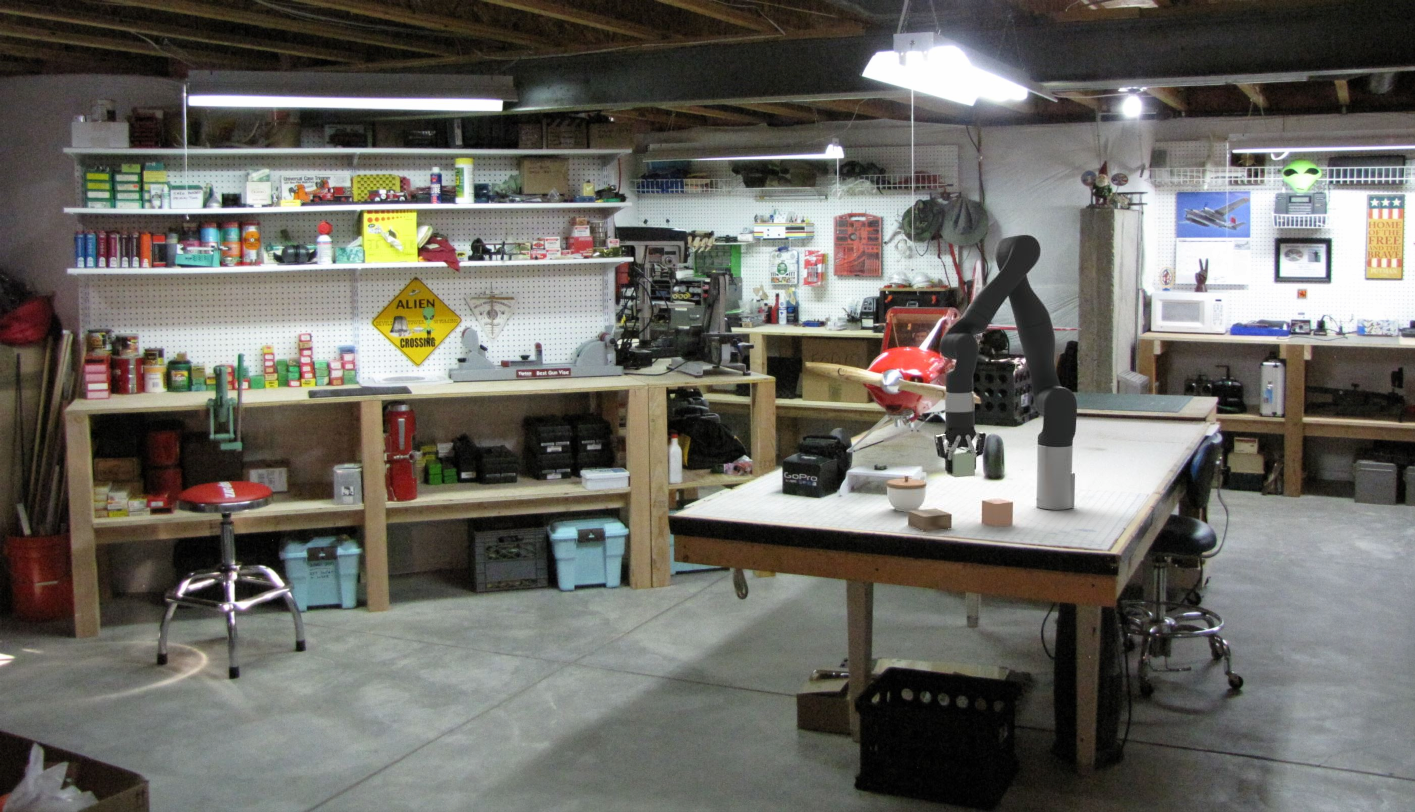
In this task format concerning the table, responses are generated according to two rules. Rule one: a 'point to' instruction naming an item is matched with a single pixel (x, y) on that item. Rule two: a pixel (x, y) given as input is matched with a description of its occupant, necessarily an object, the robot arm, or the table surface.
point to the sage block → (963, 464)
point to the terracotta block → (997, 512)
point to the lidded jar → (906, 493)
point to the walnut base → (930, 519)
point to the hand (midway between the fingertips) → (960, 472)
